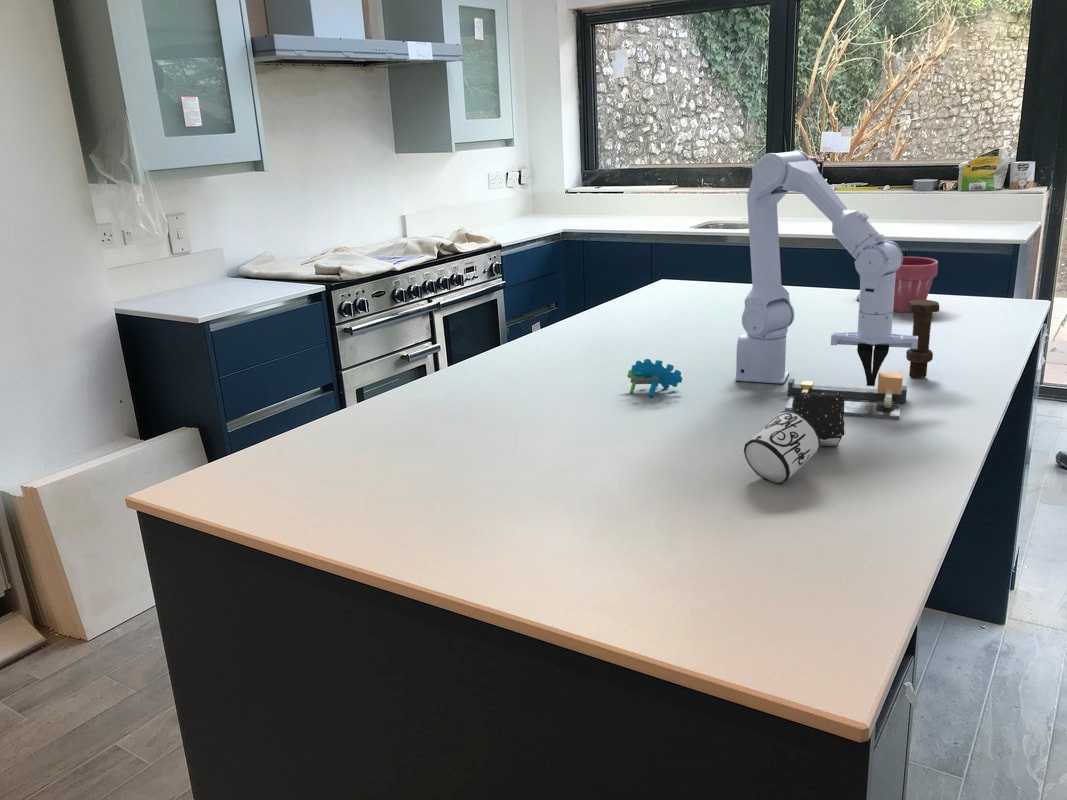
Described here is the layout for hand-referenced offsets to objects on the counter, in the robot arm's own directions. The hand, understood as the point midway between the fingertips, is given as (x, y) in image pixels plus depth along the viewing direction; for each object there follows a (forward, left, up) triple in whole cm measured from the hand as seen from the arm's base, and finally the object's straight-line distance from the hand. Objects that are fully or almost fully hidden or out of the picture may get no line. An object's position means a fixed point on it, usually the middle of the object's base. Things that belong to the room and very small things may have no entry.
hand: (870, 384), depth 160 cm
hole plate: (-4, -7, -3) cm, 9 cm away
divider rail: (-4, -3, -3) cm, 6 cm away
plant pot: (+4, +82, -3) cm, 82 cm away
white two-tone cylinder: (-9, -35, -3) cm, 36 cm away
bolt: (+8, +17, -3) cm, 18 cm away
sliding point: (+3, -3, -2) cm, 5 cm away
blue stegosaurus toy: (-39, -5, -3) cm, 40 cm away
